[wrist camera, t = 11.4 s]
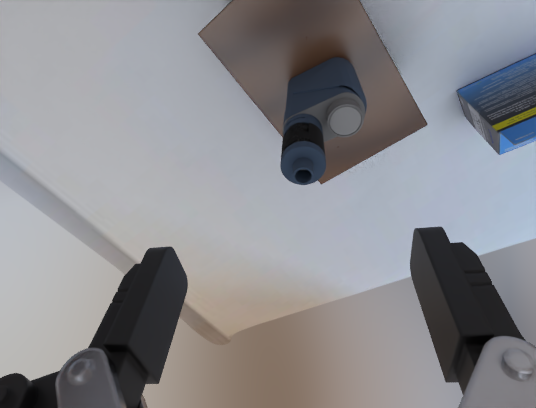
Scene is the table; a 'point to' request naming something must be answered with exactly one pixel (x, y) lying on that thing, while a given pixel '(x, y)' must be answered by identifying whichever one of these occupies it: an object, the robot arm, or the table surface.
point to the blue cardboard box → (504, 106)
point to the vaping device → (319, 117)
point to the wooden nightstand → (308, 56)
